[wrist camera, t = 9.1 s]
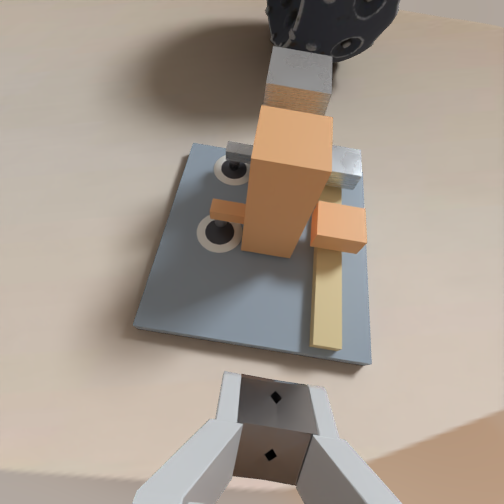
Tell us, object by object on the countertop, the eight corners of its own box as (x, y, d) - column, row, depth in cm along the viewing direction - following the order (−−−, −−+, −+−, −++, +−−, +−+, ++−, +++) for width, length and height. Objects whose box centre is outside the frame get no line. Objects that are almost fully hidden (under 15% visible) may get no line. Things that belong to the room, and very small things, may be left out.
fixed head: (222, 184, 26) (221, 75, 17) (230, 153, 28) (232, 38, 19) (346, 205, 26) (409, 107, 17) (345, 172, 28) (403, 68, 19)
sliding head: (207, 244, 23) (196, 148, 14) (217, 204, 24) (213, 96, 15) (348, 268, 23) (428, 188, 14) (347, 226, 25) (417, 132, 16)
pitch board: (137, 328, 21) (128, 322, 19) (194, 152, 29) (192, 134, 27) (364, 365, 21) (378, 362, 19) (357, 179, 29) (367, 164, 27)
